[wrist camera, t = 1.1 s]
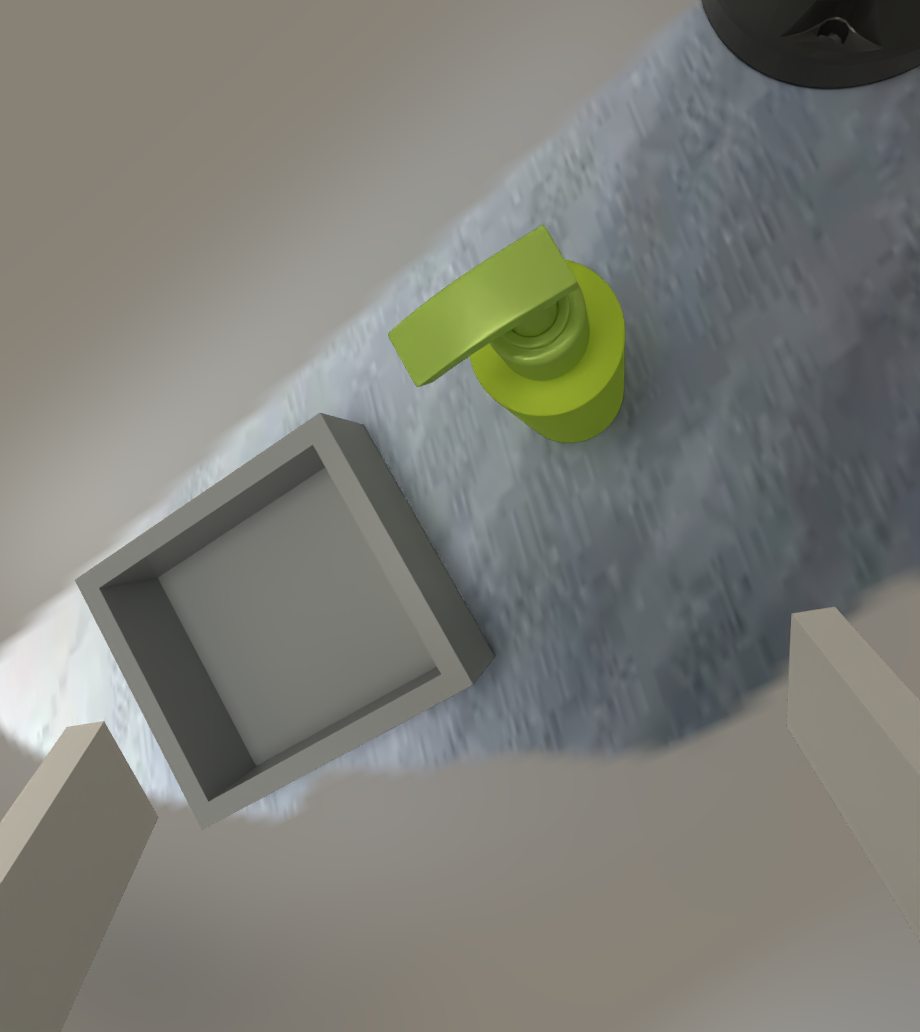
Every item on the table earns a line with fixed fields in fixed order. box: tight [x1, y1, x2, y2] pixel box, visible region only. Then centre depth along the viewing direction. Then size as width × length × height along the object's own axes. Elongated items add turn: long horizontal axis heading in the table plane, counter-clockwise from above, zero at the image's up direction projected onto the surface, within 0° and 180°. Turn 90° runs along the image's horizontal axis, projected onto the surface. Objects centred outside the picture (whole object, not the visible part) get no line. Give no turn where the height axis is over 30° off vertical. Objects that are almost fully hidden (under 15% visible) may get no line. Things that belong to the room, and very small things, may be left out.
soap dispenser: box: [388, 225, 625, 443], centre depth 28 cm, size 6×7×20 cm
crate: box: [75, 413, 495, 830], centre depth 39 cm, size 18×16×6 cm
